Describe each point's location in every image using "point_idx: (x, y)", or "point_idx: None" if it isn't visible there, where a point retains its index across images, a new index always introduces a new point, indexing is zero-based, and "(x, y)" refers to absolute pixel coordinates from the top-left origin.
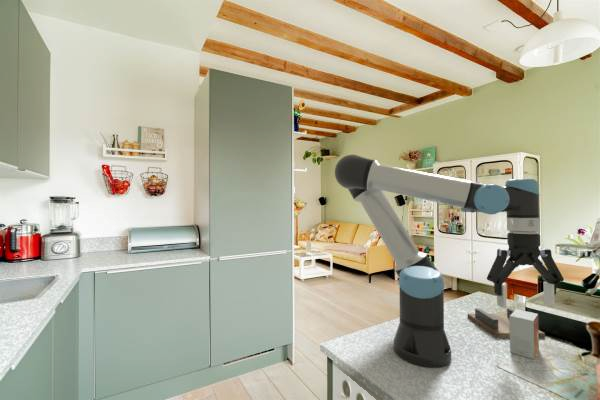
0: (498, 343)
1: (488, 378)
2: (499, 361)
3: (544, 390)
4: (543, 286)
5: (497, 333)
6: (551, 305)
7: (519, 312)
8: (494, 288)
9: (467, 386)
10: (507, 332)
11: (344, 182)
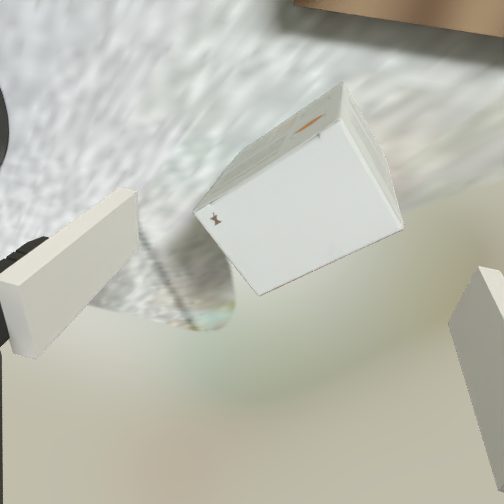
0: (255, 67)
1: None
2: (156, 193)
3: (177, 316)
4: None
5: (298, 5)
6: (452, 327)
7: (297, 188)
8: (1, 262)
9: None
10: (365, 5)
11: None
